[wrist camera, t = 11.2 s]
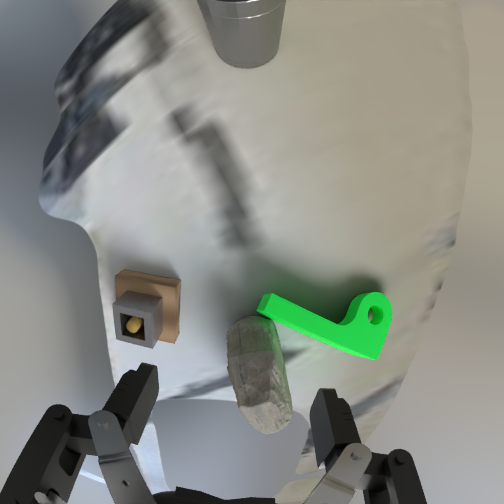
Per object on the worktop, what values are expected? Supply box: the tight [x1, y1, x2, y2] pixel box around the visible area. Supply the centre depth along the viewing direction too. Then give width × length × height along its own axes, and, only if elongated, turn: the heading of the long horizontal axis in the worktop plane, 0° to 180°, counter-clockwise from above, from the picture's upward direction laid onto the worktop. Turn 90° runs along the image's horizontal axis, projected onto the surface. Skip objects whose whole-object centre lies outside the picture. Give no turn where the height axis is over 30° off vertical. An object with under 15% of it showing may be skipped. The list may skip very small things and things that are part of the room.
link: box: [112, 290, 163, 349], centre depth 37 cm, size 6×6×5 cm
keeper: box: [115, 270, 181, 344], centre depth 38 cm, size 10×10×8 cm
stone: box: [227, 316, 292, 434], centre depth 37 cm, size 19×7×15 cm, turn 14°
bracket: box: [256, 292, 392, 360], centre depth 40 cm, size 20×10×7 cm, turn 62°
